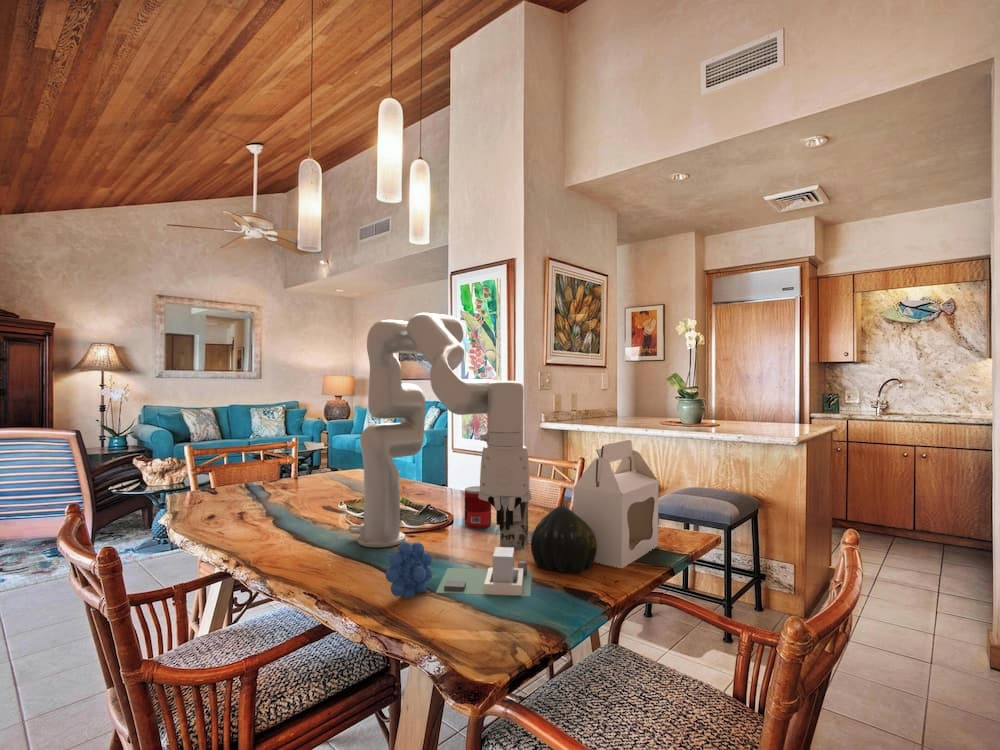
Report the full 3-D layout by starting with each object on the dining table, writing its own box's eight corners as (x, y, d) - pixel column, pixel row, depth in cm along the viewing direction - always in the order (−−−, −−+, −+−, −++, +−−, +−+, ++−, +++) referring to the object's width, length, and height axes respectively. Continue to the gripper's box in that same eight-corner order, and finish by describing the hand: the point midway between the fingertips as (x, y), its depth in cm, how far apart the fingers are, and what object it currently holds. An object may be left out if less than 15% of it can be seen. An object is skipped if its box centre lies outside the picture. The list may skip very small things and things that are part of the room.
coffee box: (523, 551, 137) (524, 488, 138) (499, 549, 139) (499, 487, 139) (529, 540, 146) (529, 481, 146) (505, 539, 148) (506, 480, 148)
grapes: (401, 616, 100) (401, 552, 100) (378, 606, 104) (378, 544, 104) (446, 597, 109) (446, 537, 109) (423, 588, 113) (423, 531, 113)
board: (435, 598, 108) (435, 580, 108) (447, 573, 122) (447, 556, 122) (530, 602, 106) (530, 583, 106) (531, 576, 120) (531, 559, 120)
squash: (565, 564, 112) (589, 502, 120) (510, 551, 122) (535, 495, 130) (593, 594, 120) (614, 534, 128) (539, 580, 130) (561, 525, 138)
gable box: (613, 537, 151) (613, 437, 151) (658, 546, 142) (659, 440, 142) (572, 557, 133) (572, 444, 133) (621, 569, 125) (622, 449, 125)
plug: (492, 590, 109) (492, 556, 109) (495, 577, 116) (496, 544, 116) (512, 591, 109) (512, 556, 109) (514, 577, 116) (514, 545, 116)
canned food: (495, 526, 161) (496, 489, 161) (473, 530, 156) (473, 492, 156) (482, 520, 167) (482, 485, 167) (459, 524, 162) (460, 487, 162)
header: (484, 594, 107) (484, 584, 107) (488, 576, 117) (488, 567, 117) (521, 595, 107) (521, 585, 107) (523, 577, 116) (523, 568, 116)
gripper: (466, 441, 109) (465, 532, 109) (541, 442, 107) (541, 534, 107) (471, 437, 116) (470, 522, 116) (541, 438, 115) (541, 524, 115)
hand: (504, 528), depth 112 cm, fingers closed
